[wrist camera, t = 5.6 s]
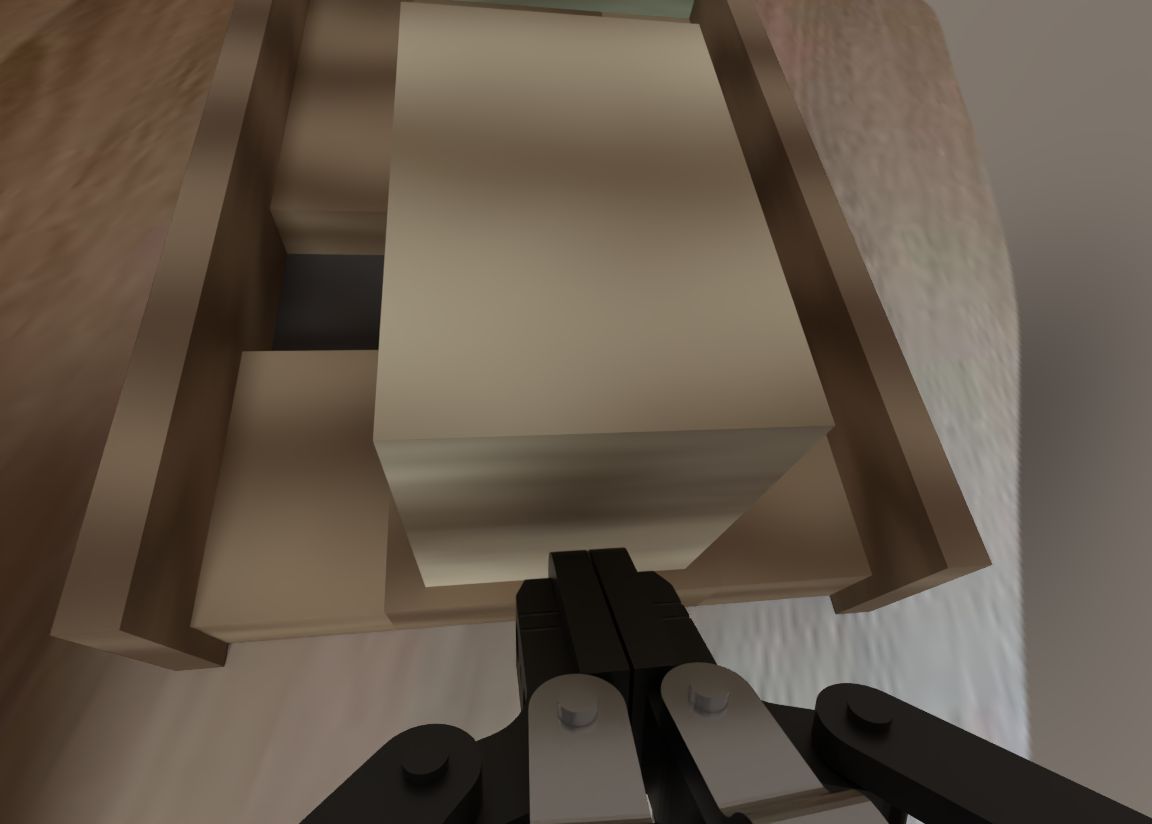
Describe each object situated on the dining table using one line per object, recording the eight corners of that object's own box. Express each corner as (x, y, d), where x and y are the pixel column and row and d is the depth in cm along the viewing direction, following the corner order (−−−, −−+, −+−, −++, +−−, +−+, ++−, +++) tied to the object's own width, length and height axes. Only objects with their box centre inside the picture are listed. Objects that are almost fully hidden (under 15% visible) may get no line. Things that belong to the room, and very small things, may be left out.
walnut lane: (870, 611, 20) (992, 564, 15) (176, 670, 16) (49, 635, 12) (693, 54, 34) (726, -61, 29) (301, 28, 31) (266, -106, 26)
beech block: (684, 568, 17) (835, 425, 10) (425, 587, 16) (372, 440, 9) (629, 266, 22) (699, 23, 15) (430, 264, 21) (400, 1, 14)
